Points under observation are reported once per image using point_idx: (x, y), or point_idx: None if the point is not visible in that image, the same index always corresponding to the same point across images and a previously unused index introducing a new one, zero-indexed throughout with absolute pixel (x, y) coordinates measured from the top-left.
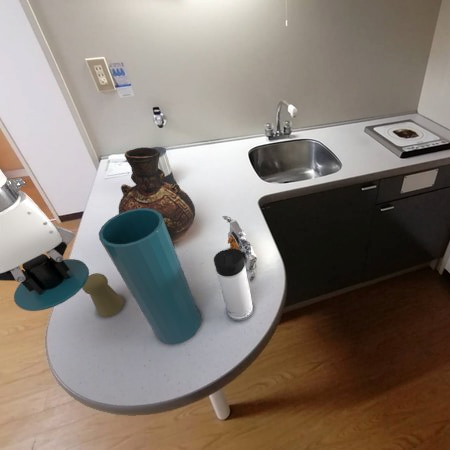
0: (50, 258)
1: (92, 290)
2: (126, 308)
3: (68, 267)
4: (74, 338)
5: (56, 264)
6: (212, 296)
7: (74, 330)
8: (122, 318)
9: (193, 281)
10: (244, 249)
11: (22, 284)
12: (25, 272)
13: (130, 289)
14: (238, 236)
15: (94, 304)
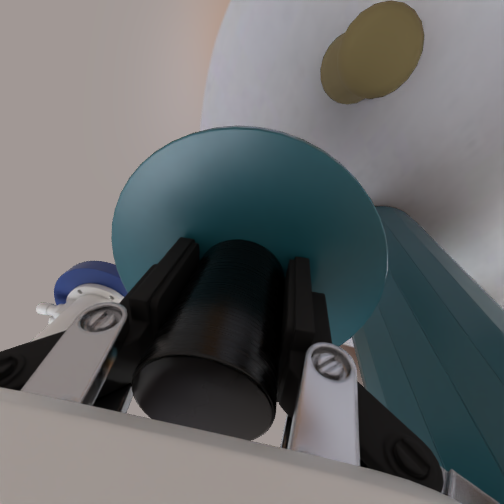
0: (290, 338)
1: (350, 89)
2: (364, 112)
3: (329, 260)
4: (252, 80)
5: (278, 401)
6: (458, 256)
7: (263, 54)
8: (338, 131)
9: (494, 193)
10: None
11: (152, 178)
12: (151, 322)
13: (365, 367)
14: None
15: (330, 59)
